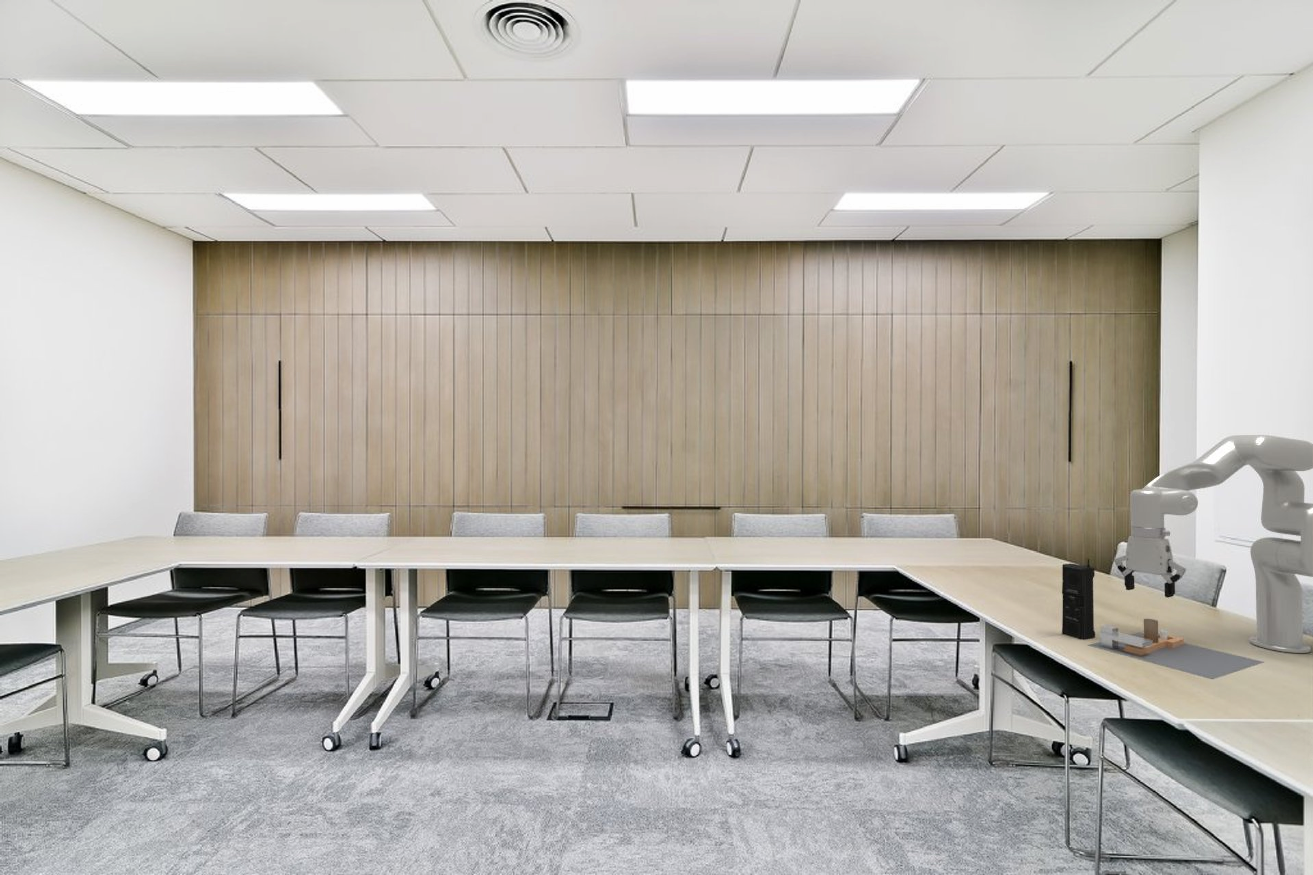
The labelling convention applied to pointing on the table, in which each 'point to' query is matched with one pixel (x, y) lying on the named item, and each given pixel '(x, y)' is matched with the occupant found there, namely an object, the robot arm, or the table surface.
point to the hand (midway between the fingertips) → (1149, 593)
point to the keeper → (1120, 638)
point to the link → (1154, 639)
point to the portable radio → (1078, 601)
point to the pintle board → (1188, 658)
